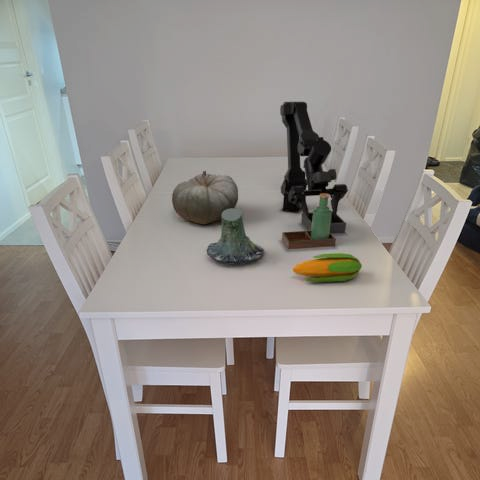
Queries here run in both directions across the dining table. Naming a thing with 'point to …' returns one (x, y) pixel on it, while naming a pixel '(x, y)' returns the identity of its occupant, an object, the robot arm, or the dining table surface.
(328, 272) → the corn
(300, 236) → the wooden box
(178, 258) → the dining table surface
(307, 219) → the tray
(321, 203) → the green corked bottle
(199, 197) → the gourd
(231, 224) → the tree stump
